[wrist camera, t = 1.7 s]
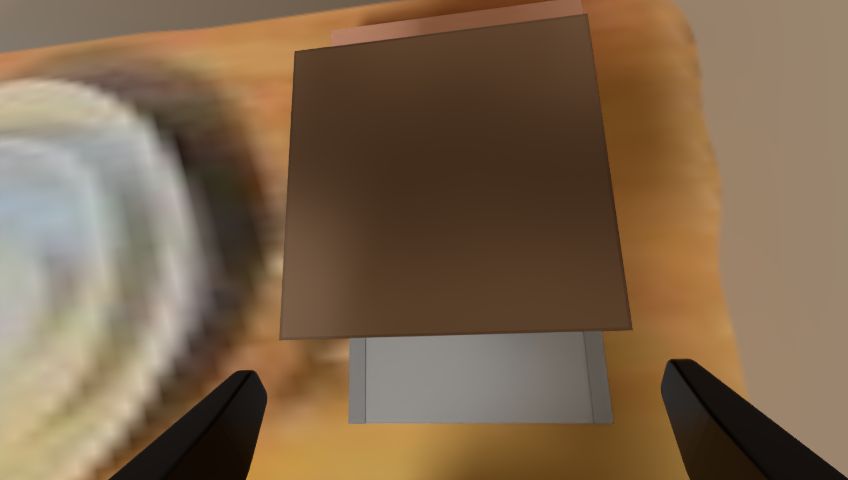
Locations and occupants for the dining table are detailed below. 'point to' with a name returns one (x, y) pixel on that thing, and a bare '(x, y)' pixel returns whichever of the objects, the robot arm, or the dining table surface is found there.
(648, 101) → the dining table surface
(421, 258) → the brown wooden block
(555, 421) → the bay
